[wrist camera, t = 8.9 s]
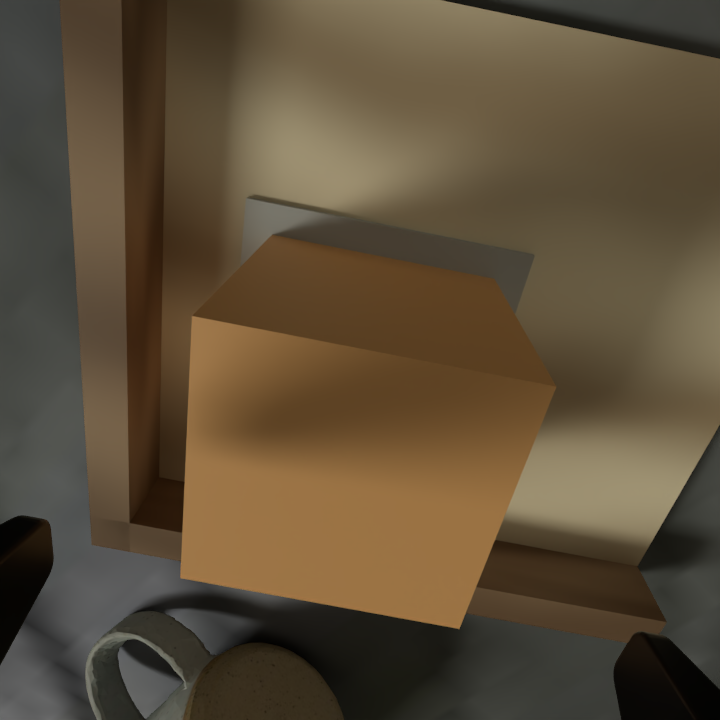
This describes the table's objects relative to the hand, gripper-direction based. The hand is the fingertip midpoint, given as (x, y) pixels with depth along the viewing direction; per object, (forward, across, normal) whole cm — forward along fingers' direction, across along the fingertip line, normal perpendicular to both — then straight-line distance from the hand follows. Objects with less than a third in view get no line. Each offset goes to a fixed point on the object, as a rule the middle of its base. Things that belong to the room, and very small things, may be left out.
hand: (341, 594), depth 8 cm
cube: (+8, 0, 0) cm, 8 cm away
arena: (+9, -2, -1) cm, 9 cm away
